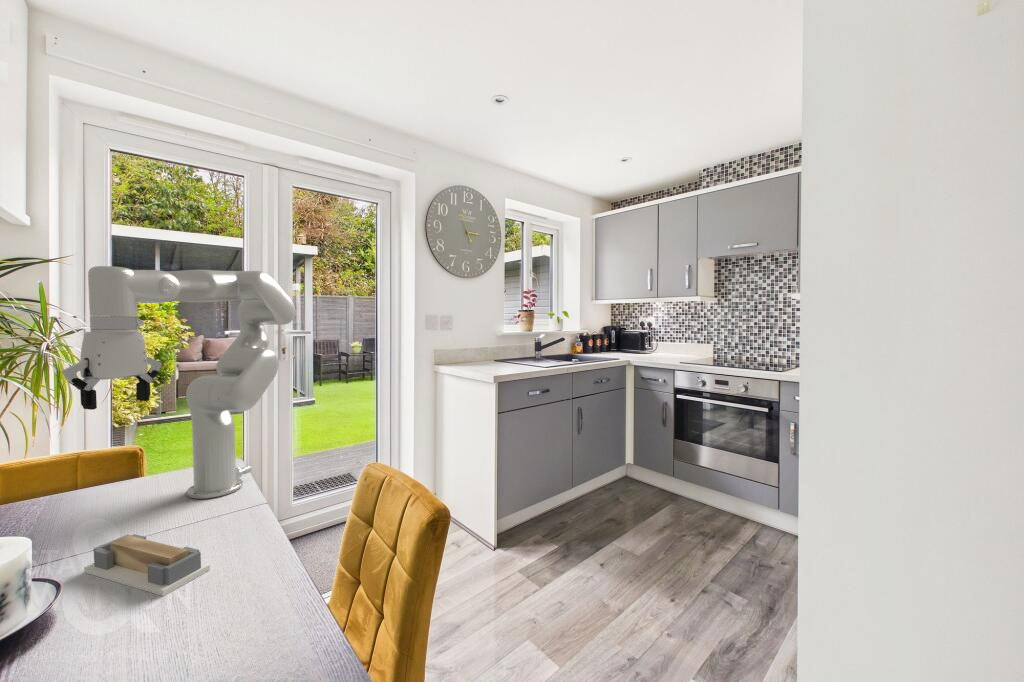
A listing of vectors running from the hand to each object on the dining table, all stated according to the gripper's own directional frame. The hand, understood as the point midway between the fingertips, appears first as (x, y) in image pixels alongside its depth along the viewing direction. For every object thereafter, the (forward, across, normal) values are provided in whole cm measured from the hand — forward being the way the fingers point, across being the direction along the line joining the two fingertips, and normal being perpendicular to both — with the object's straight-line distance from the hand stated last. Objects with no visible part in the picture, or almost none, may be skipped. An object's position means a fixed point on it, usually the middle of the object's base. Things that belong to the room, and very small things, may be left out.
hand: (117, 404), depth 92 cm
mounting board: (+28, +8, +21) cm, 36 cm away
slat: (+27, +8, +22) cm, 36 cm away
